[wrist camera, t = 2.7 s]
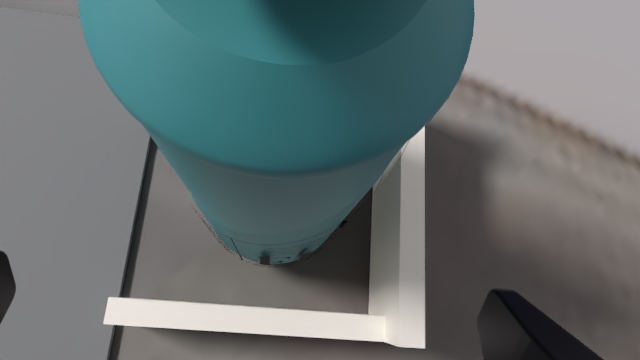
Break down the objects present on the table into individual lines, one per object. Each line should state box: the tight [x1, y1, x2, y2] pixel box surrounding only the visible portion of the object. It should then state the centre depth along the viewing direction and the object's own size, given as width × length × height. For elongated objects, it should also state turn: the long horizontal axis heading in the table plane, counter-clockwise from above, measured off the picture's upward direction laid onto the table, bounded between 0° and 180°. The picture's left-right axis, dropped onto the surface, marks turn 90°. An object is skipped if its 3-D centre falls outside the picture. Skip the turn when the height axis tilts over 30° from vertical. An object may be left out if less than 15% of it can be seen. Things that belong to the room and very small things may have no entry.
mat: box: [0, 7, 151, 360], centre depth 20 cm, size 18×11×1 cm, turn 176°
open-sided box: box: [103, 126, 425, 349], centre depth 19 cm, size 12×12×6 cm
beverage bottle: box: [78, 0, 474, 267], centre depth 12 cm, size 6×7×20 cm
